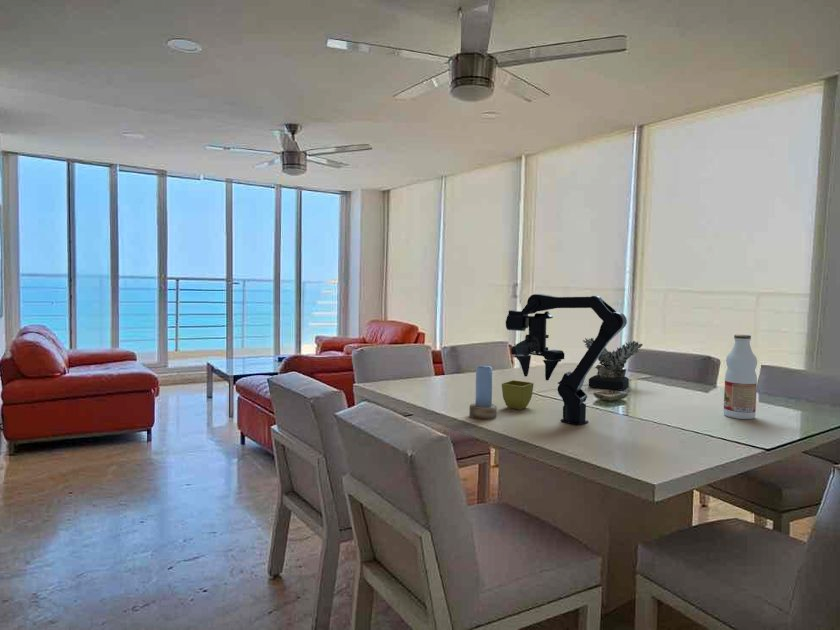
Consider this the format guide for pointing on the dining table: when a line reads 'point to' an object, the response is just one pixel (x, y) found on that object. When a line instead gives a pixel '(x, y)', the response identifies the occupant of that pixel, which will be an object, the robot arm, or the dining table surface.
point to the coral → (612, 366)
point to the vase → (483, 386)
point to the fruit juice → (740, 380)
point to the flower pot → (517, 393)
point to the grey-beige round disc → (483, 412)
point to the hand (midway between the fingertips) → (536, 378)
